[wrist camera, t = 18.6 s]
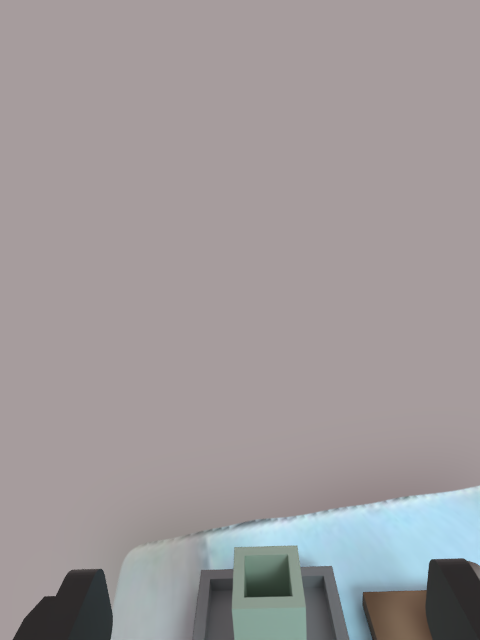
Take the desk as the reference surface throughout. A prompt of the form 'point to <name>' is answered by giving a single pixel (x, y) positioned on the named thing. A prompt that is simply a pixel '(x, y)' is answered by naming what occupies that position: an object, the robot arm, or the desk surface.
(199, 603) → the grey tray
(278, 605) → the sleeve
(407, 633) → the board
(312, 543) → the desk surface
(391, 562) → the desk surface
